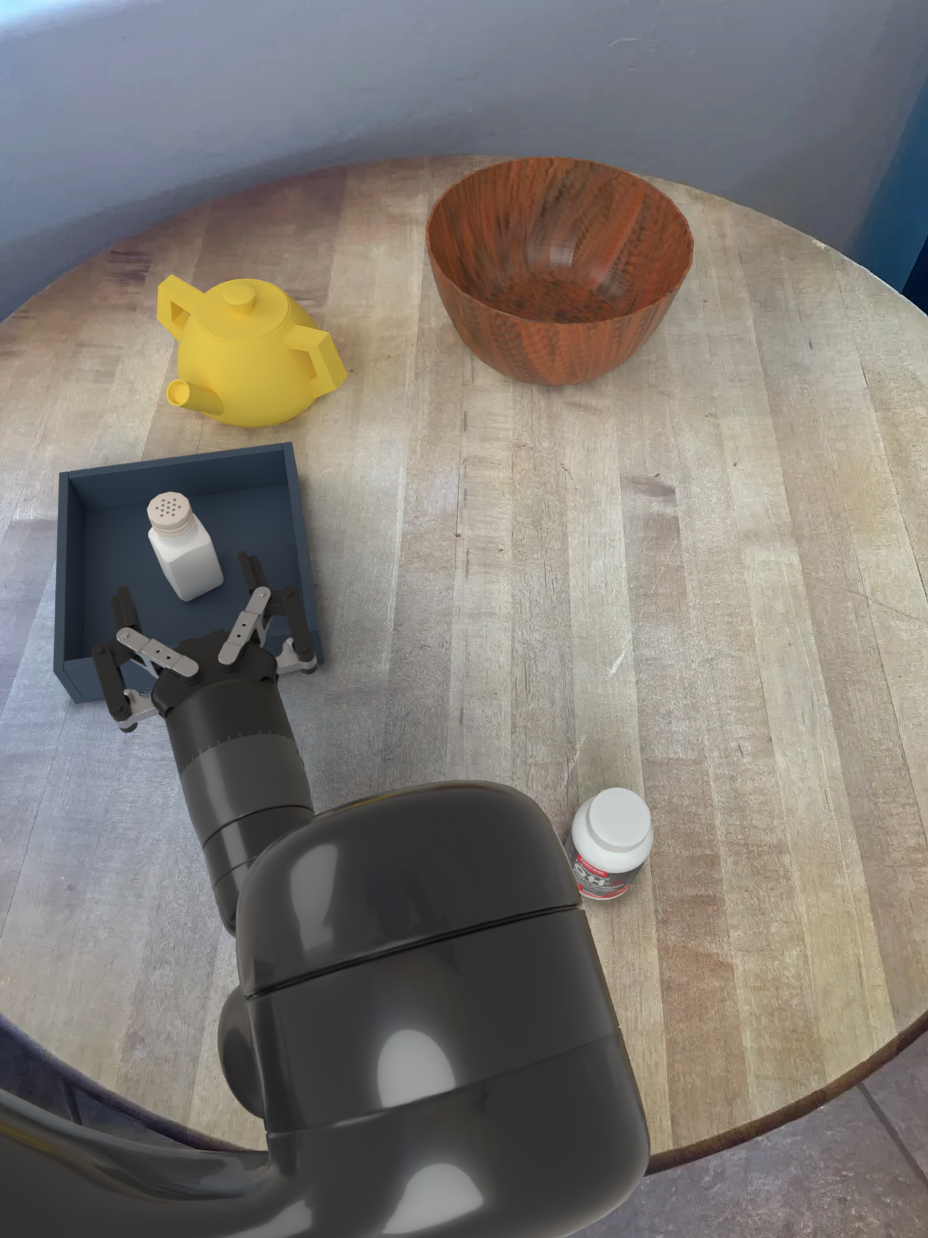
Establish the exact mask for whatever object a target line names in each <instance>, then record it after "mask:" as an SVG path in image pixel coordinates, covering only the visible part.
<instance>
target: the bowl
mask: <svg viewBox="0 0 928 1238" xmlns="http://www.w3.org/2000/svg"><path fill="white" fill-rule="evenodd" d="M424 230H425V240H426V250H427V256H428V260H429V264H430V268H431V272H432V276H433V278H434V283H435V286H436V289H437V292H438V295H439V297H440V300H441V303H442V305H443V307H444V309H445V311H446V314H447V315H448V316H449V319H450V321H451V323H452V325H453V327H454V329H455V330H456V332H457V335H458V336H459V338H460V339H461V341H462V342H463V343H464V345H465V346H466V347H467V348H468V349H469V350H470V351H471V352H472V353H473V354H474V355H475V356H476V357H477V359H479V360H480V361H481V362H482V363H484V365H486V366H488V367H490V368H491V369H493V370H495V371H496V372H498V373H500V374H501V375H504V376H506V377H508V378H512V379H515V380H517V381H520V382H523V383H526V384H533V385H540V386H546V387H547V386H548V387H551V386H552V387H553V386H556V387H557V386H573V385H576V384H579V383H580V384H581V383H584V382H590V381H592V380H596V379H598V378H600V377H602V376H604V375H606V374H608V373H610V372H612V371H614V370H615V369H618V368H619V367H621V366H622V365H623V364H624V363H625V362H626V361H628V360H629V359H630V358H631V357H632V356H633V355H634V354H636V352H637V351H639V350H640V349H641V348H642V347H643V346H644V345H645V344H646V343H647V341H648V340H649V339H650V338H651V337H652V335H653V334H654V333H655V331H656V330H657V328H658V327H659V326H660V324H661V323H662V321H663V319H664V318H665V316H666V314H667V313H668V311H669V309H670V308H671V306H672V303H673V302H674V300H675V298H676V297H677V294H678V293H679V291H680V289H681V287H682V286H683V283H684V282H685V279H686V278H687V275H688V274H689V272H690V270H691V267H692V266H693V261H694V260H693V259H694V248H695V240H694V237H693V233H692V231H691V227H690V224H689V222H688V219H687V217H686V216H685V214H683V212H682V211H681V210H680V209H679V207H678V206H677V204H676V203H675V202H674V201H673V199H672V198H670V197H669V196H668V195H667V194H665V193H664V192H663V191H661V190H660V189H659V188H658V187H656V186H655V185H653V184H652V183H651V182H649V181H647V180H645V179H644V178H641V177H640V176H637V175H636V174H634V173H631V172H629V171H627V170H625V169H623V168H620V167H616V166H613V165H609V164H606V163H602V162H599V161H596V160H592V159H587V158H586V159H585V158H576V157H571V156H570V157H569V156H561V155H549V156H523V157H519V158H514V159H510V160H504V161H499V162H495V163H492V164H490V165H487V166H484V167H482V168H479V169H477V170H473V171H472V172H469V173H468V174H466V175H465V176H463V177H462V178H460V179H459V180H457V181H456V182H454V183H453V184H451V185H450V186H449V187H447V188H446V189H445V191H443V193H442V194H441V195H440V197H439V198H438V199H437V200H436V202H435V203H434V204H433V205H432V206H431V209H430V213H429V216H428V218H427V221H426V224H425V228H424Z"/></svg>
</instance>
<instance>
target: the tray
mask: <svg viewBox="0 0 928 1238" xmlns="http://www.w3.org/2000/svg"><path fill="white" fill-rule="evenodd" d="M167 492H175V493H181V494H182V495H183V496H184V497H186V498H187V499H188V501H189V504H190V507H191V509H192V512H193V513H194V514H195V515H196V517H197V518H198V519H199V521H200V522H201V524H202V525H203V527H204V528H205V530H206V531H207V533H208V534H209V536H210V538H211V541H212V544H213V547H214V550H215V553H216V556H217V559H218V562H219V565H220V568H221V571H222V574H223V579H224V581H223V583H222V584H221V585H220V586H218V587H216V588H214V589H212V590H210V591H208V592H206V593H204V594H202V595H200V596H198V597H196V598H194V599H192V600H190V601H186V602H185V601H183V600H182V599H180V598H179V597H178V595H177V594H176V592H175V590H174V589H173V587H172V586H171V584H170V583H169V581H168V579H167V578H166V576H165V575H164V572H163V570H162V568H161V565H160V563H159V560H158V558H157V556H156V553H155V551H154V549H153V546H152V544H151V542H150V539H149V537H148V533H149V531H150V529H151V528H152V527H153V526H152V524H151V522H150V519H149V516H148V512H147V508H148V506H149V504H150V502H151V500H153V499H154V498H155V497H157V496H158V495H159V494H163V493H167ZM57 494H58V495H57V497H58V498H57V524H56V525H57V528H56V530H57V531H56V558H55V560H56V561H55V562H56V564H55V591H54V592H55V595H54V625H53V627H54V629H53V656H52V657H53V658H52V659H53V662H52V672H53V674H54V675H55V676H56V678H57V679H58V681H59V682H60V684H61V685H62V687H63V689H65V691H66V692H67V694H68V696H69V697H70V698H71V699H72V701H73V703H74V704H79V703H86V702H92V701H93V702H94V701H98V700H105V697H104V694H103V690H102V687H101V684H100V681H99V677H98V674H97V671H96V667H95V664H94V661H93V658H92V654H91V650H92V648H93V647H94V646H95V645H96V644H98V643H108V642H109V641H111V640H112V639H113V638H114V637H115V636H116V633H117V630H116V625H115V621H114V617H113V613H112V609H111V605H110V601H111V597H112V596H115V595H118V592H117V587H119V586H123V585H126V584H127V586H128V588H129V590H130V592H131V594H132V596H133V599H134V602H135V606H136V610H137V613H138V617H139V621H140V625H141V629H142V633H143V636H145V637H147V638H148V639H151V638H153V639H155V640H157V641H158V642H160V643H162V644H163V645H165V646H167V647H169V648H170V649H172V650H174V649H175V648H176V647H177V646H179V642H181V641H184V640H187V639H192V638H202V637H204V636H206V635H208V634H209V633H211V632H213V631H216V630H220V629H223V628H224V631H232V629H233V627H234V625H235V623H236V621H237V619H238V617H239V615H240V613H241V611H244V610H245V609H246V607H247V605H248V603H249V601H250V599H251V597H250V594H249V591H248V588H247V585H246V582H245V579H244V576H243V573H242V570H241V567H240V564H239V561H238V557H237V554H236V553H237V552H241V551H244V550H246V553H247V556H248V557H250V556H253V555H255V556H256V557H257V558H258V559H259V561H260V564H261V567H262V570H263V572H264V575H265V578H266V581H267V584H268V586H269V587H270V588H271V589H273V590H283V589H284V588H285V587H288V586H292V587H295V588H296V589H297V590H298V593H299V597H300V600H301V604H302V607H303V611H304V614H305V618H306V621H307V625H308V629H309V632H310V636H311V639H312V643H313V646H314V651H315V655H316V660H317V664H318V665H320V664H325V663H326V658H325V651H324V644H323V637H322V631H321V623H320V616H319V609H318V601H317V596H316V595H317V594H316V587H315V581H314V575H313V567H312V566H313V565H312V561H311V553H310V546H309V539H308V533H307V525H306V517H305V511H304V504H303V497H302V490H301V483H300V476H299V471H298V467H297V461H296V456H295V451H294V445H293V441H285V442H278V443H270V444H264V445H263V444H262V445H255V446H246V447H241V448H239V447H238V448H231V449H225V450H218V451H209V452H202V453H201V452H200V453H195V454H186V455H179V456H170V457H163V458H157V459H150V460H142V461H134V462H126V463H118V464H113V465H105V466H98V467H97V466H95V467H90V468H89V467H88V468H82V469H74V470H69V471H67V470H66V471H60V472H59V473H58V493H57ZM290 637H291V638H292V636H291V632H290V628H289V625H288V621H287V617H286V615H278V616H274V618H273V620H272V622H271V624H270V626H269V629H268V631H267V633H266V640H265V643H264V645H263V649H265V650H266V651H268V652H270V653H271V654H272V655H273V656H274V657H277V656H279V655H280V654H281V653H282V651H283V643H284V642H285V641H286V640H287V639H288V638H290ZM120 669H121V672H122V675H123V678H124V681H125V684H126V688H127V689H134V690H136V691H137V692H138V693H139V694H141V693H148V692H152V690H153V688H154V686H155V684H156V682H157V678H155V677H154V676H153V675H152V674H150V672H149V671H147V670H146V669H144V668H143V667H141V666H139V665H138V664H136V663H134V662H133V661H131V660H129V661H127V662H126V663H124V664H123V665H121V666H120Z"/></svg>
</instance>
